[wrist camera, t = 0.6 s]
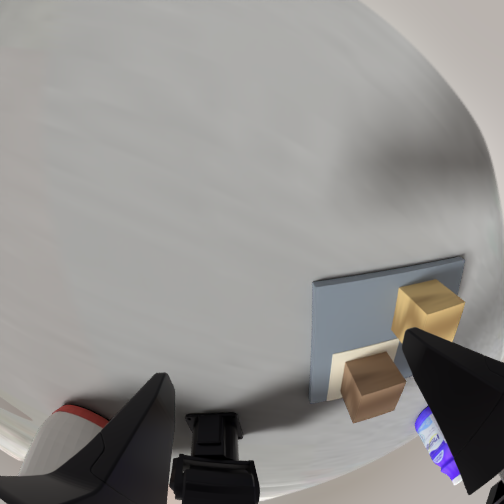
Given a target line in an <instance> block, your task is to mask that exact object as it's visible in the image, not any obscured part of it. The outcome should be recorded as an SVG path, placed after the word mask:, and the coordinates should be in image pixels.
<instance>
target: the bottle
mask: <svg viewBox="0 0 504 504" xmlns="http://www.w3.org/2000/svg"><path fill="white" fill-rule="evenodd" d="M415 428H416V431H417V432H418V434H419V436H420V438H421V440H422V441H423V443H424V445H425V447H426V449H427V450H428V452H429V454H430V456H431V458H432V460H433V462H434V463H435V464H437V465H438V466H440V467H441V472H443V473H445V474H447V475H448V476H449V477H450V479H451V480H452V482H453V484H454V485H456V484H458V483H460V482H461V481H463V480H462V477H461V475H460V473H459V470H458V468H457V465H456V463H455V461H454V457H453V456H452V454H451V451H450V449H449V447H448V445H447V442H446V440H445V438H444V436H443V434H442V432H441V430H440V428H439V426H438V424H437V422H436V420H435V418H434V416H433V414H432V412H431V410H430V408H429V406H428V407H427V408H425V409H424V410H423V411H422V412H421V414H420V415H419V417H418V418H417V420H416V422H415Z"/></svg>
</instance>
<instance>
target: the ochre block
mask: <svg viewBox="0 0 504 504" xmlns="http://www.w3.org/2000/svg"><path fill="white" fill-rule="evenodd" d="M464 305H465V302H464V301H463V300H462V299H461V298H460V297H458V296H457V295H456V294H455V293H453V292H452V291H451V290H450V289H448V288H447V287H446V286H444V285H443V284H442V283H441V282H439V281H438V280H437V279H434V280H430V281H426V282H421V283H417V284H412V285H408V286H403V287H399V290H398V296H397V302H396V307H395V312H394V318H393V322H392V327H391V330H392V331H393V333H394V334H395V335H396V337H397V338H398V339H399V340H400V342H401V343H403V338H404V334H405V331H406V330H407V329H409V328H412V327H417V328H419V329H422V330H424V331H426V332H429V333H431V334H434V335H436V336H438V337H441V338H443V339H446V340H448V341H451V342H452V341H453V338H454V336H455V333H456V330H457V327H458V324H459V321H460V318H461V315H462V312H463V308H464Z"/></svg>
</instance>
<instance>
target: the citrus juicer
mask: <svg viewBox="0 0 504 504" xmlns="http://www.w3.org/2000/svg"><path fill="white" fill-rule="evenodd" d="M108 423H109V421H107V420H106V419H104V418H103V417H101V416H99V415H97V414H95V413H93V412H91V411H89V410H87V409H84V408H81V407H78V406H74V405H64V406H62V407H61V408H59V409H57V410H56V411H55V412H53V413H52V415H51V416H50V417H49V418H48V419H47V420H45V422H44V423H43V424H42V425H41V427H40V428H39V430H38V431H37V433H36V435H35V437H34V439H33V441H32V443H31V445H30V448H29V450H28V452H27V454H26V457H25V459H24V462H23V464H22V467H21V469H20V472H19V475H18V476H31V475H43V474H48V473H51V472H53V471H55V470H56V469H58V468H59V467H60V466H61V465H63V464H64V463H65V462H66V461H68V460H69V459H70V458H71V457H73V456H74V455H75V454H76V453H78V452H79V451H80V450H81V449H82V448H83V447H85V446H86V445H87V444H88V443H89V442H90V441H91V440H92V439H93V438H94V437H95V436H96V435H97V434H98V433H99V432H101V430H102V429H103V428H104V427H105V426H106V425H107V424H108Z"/></svg>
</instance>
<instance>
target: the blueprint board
mask: <svg viewBox="0 0 504 504" xmlns="http://www.w3.org/2000/svg"><path fill="white" fill-rule="evenodd" d="M464 263H465V259H463V258H461V257H455V258H450V259H445V260H440V261H435V262H430V263H425V264H419V265H414V266H409V267H403V268H398V269H392V270H386V271H380V272H374V273H368V274H362V275H356V276H350V277H343V278H337V279H330V280H323V281H316V282H312V342H311V366H310V384H309V401H310V404H313V403H318V402H323V401H331V400H335V399H339V398H343V397H342V395H341V392H340V389H341V384H342V378H343V373H344V367H345V362H347V361H351V360H355V359H359V358H363V357H367V356H371V355H375V354H379V353H382V352H387V353H388V354H389V356H390V357H391V359H392V360H393V362H394V363H395V365H396V366H397V368H398V369H399V371H400V373H401V374H402V376H403V377H404V378H407V377H410V376H412V372H411V370H410V367H409V365H408V363H407V360H406V358H405V356H404V353H403V351H402V343H401V342H400V340H399V339H398V338H397V337H396V335H395V334H394V333H393V331H392V330H391V327H392V322H393V318H394V312H395V307H396V302H397V296H398V290H399V287H403V286H408V285H412V284H417V283H421V282H426V281H430V280H434V279H437V280H438V281H439V282H441V283H442V284H443V285H444V286H446V287H447V288H448V289H450V290H451V291H452V292H453V293H455V294H456V295H457V294H458V290H459V286H460V282H461V278H462V273H463V268H464Z"/></svg>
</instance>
